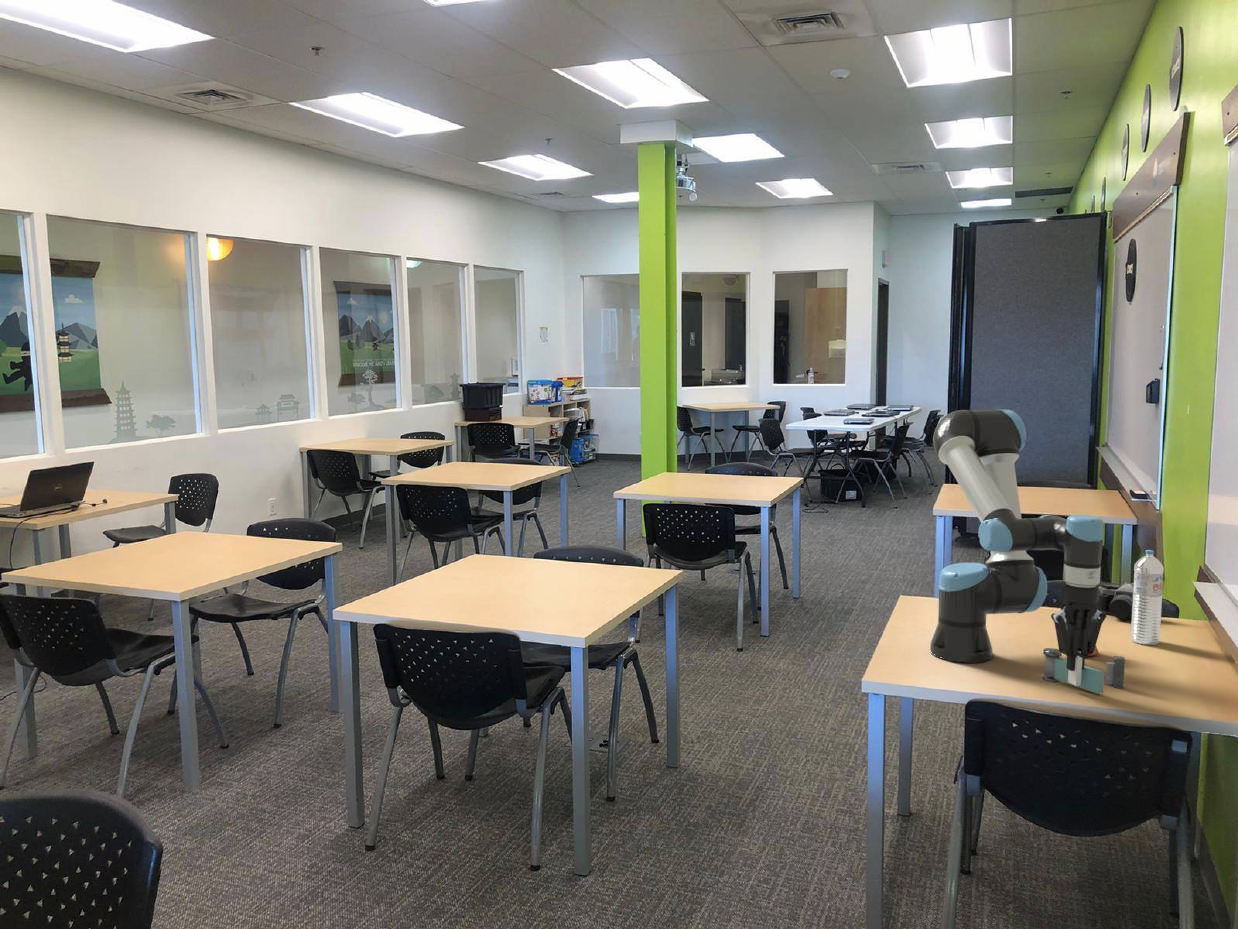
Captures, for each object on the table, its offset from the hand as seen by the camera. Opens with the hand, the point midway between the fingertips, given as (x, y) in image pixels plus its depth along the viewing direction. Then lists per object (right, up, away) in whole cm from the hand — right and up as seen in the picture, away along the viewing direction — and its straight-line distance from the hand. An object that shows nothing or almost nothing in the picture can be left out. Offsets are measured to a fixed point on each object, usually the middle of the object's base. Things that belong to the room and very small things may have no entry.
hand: (1074, 683), depth 214 cm
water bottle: (+36, +3, +36) cm, 51 cm away
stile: (+12, -1, +3) cm, 12 cm away
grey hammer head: (-1, -1, +8) cm, 9 cm away
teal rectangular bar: (+1, -1, +3) cm, 4 cm away
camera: (+43, +5, +58) cm, 73 cm away
